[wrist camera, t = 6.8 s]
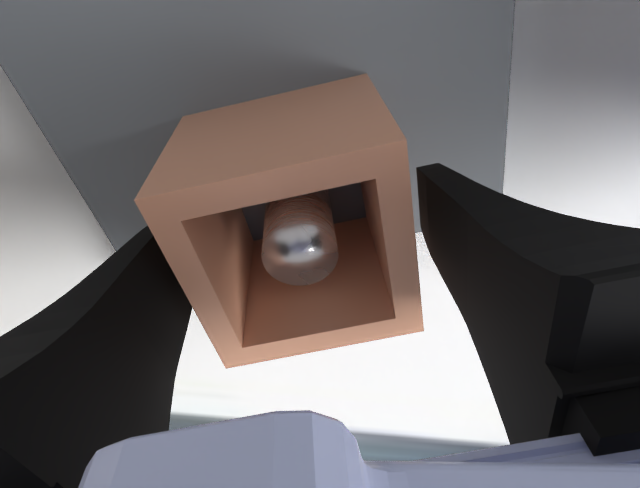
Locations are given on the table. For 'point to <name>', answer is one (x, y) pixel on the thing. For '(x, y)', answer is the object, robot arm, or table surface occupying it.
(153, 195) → the sleeve
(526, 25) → the table surface
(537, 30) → the table surface
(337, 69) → the pin plate
